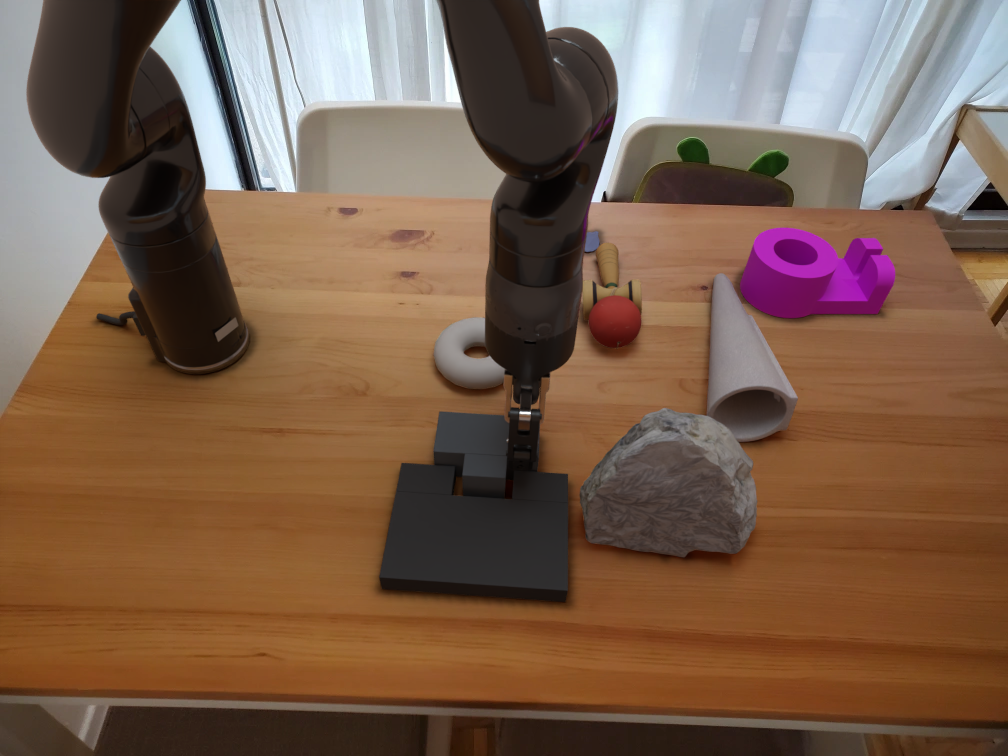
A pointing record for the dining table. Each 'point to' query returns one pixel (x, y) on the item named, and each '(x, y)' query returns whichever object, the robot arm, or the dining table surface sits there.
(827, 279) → the tape dispenser
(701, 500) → the decorative rock
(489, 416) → the grey pad
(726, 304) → the grey hollow cone
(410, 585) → the black pad
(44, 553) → the dining table surface
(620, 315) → the kendama
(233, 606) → the dining table surface
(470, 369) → the donut
